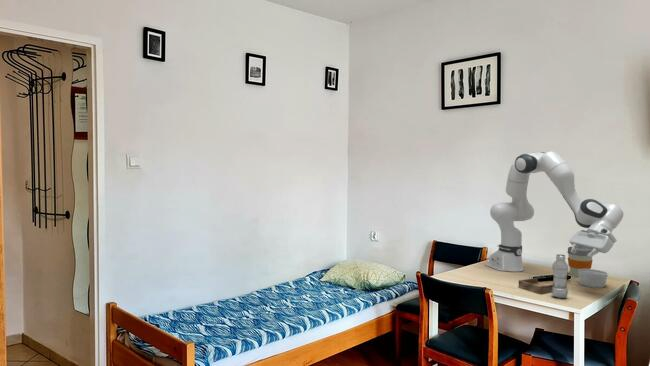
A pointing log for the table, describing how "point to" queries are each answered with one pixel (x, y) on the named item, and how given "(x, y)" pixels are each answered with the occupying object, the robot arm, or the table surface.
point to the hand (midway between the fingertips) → (580, 254)
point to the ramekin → (592, 277)
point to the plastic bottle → (560, 277)
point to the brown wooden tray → (535, 286)
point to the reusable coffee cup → (578, 260)
